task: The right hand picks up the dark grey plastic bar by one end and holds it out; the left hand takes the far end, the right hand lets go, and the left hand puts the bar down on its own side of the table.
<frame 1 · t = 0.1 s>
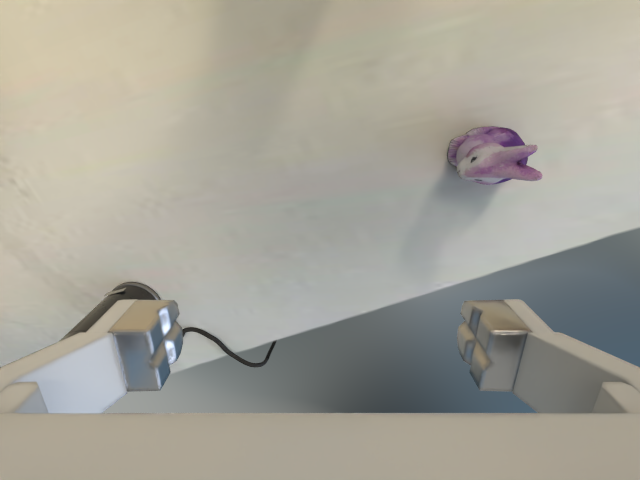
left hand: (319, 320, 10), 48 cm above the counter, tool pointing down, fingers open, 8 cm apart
figurine: (475, 154, 56), on the counter
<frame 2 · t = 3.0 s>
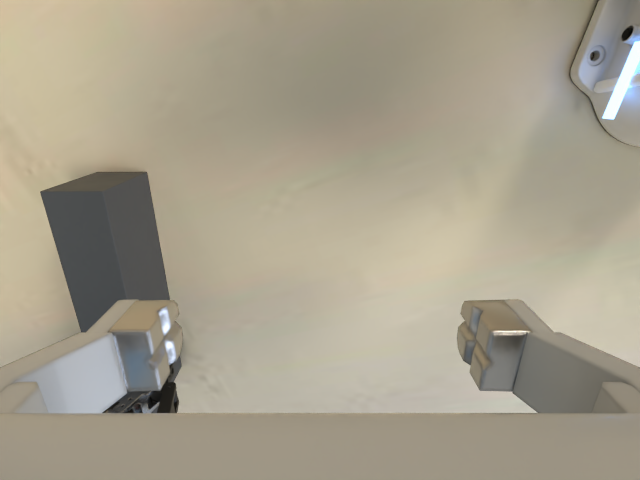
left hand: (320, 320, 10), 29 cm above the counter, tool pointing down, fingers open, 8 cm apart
bar: (144, 279, 43), on the counter, touching right hand
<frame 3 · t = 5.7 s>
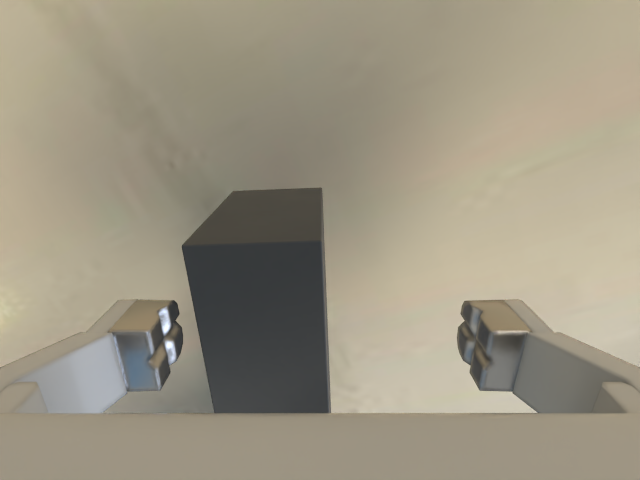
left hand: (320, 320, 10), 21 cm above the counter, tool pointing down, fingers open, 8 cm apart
bar: (292, 363, 26), point 9 cm above the counter, touching right hand
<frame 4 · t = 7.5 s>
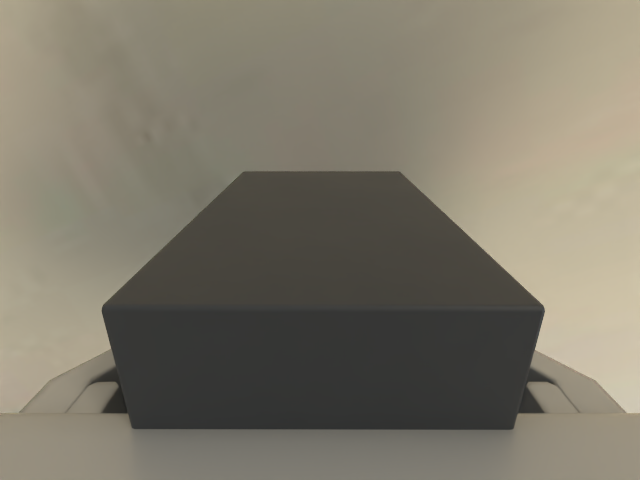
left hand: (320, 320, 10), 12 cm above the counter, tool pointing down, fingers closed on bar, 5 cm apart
bar: (321, 447, 17), point 9 cm above the counter, touching left hand, right hand
when the right hand's fingers open (13 cm above the counter, at t = 8.5 s): bar stays where it is, held by the left hand.
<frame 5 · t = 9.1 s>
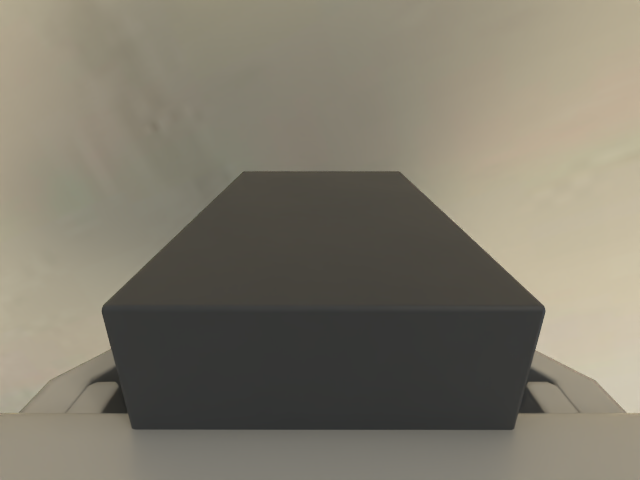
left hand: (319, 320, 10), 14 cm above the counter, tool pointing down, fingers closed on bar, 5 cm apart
bar: (321, 447, 17), point 11 cm above the counter, touching left hand
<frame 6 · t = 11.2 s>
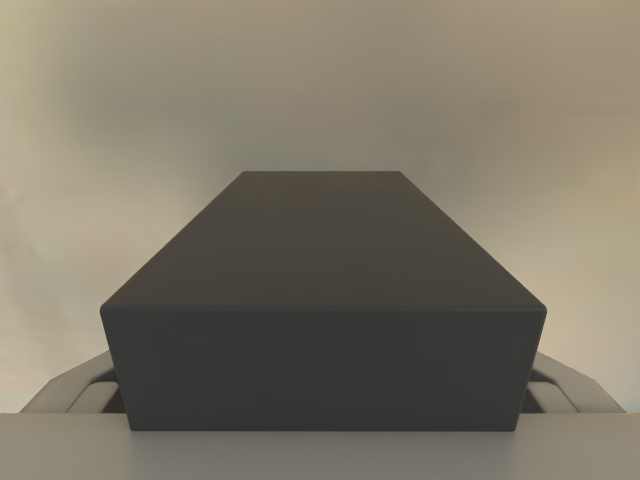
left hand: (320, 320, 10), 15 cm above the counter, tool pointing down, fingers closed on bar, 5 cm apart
bar: (321, 448, 17), point 11 cm above the counter, touching left hand
when the left hand's fingers open (4 cm above the counter, at t = 12.9 s): bar stays where it is, on the counter.
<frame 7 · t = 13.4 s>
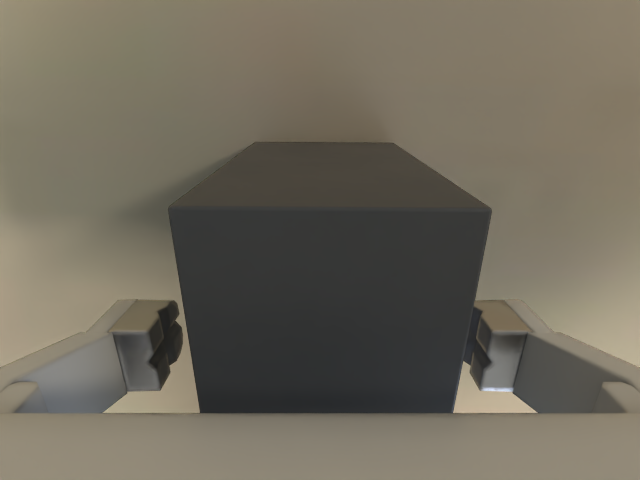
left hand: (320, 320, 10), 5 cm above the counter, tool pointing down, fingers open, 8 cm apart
bar: (321, 400, 18), on the counter
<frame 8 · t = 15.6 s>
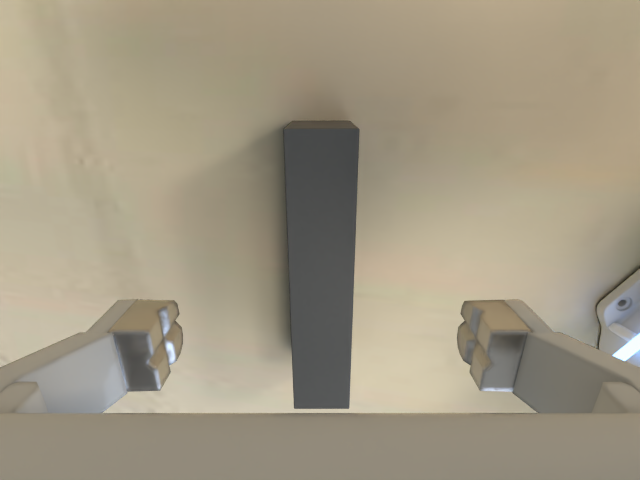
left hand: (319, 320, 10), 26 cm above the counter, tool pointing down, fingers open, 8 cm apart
bar: (321, 250, 37), on the counter
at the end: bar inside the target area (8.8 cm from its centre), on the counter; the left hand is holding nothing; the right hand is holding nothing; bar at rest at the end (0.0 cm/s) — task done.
